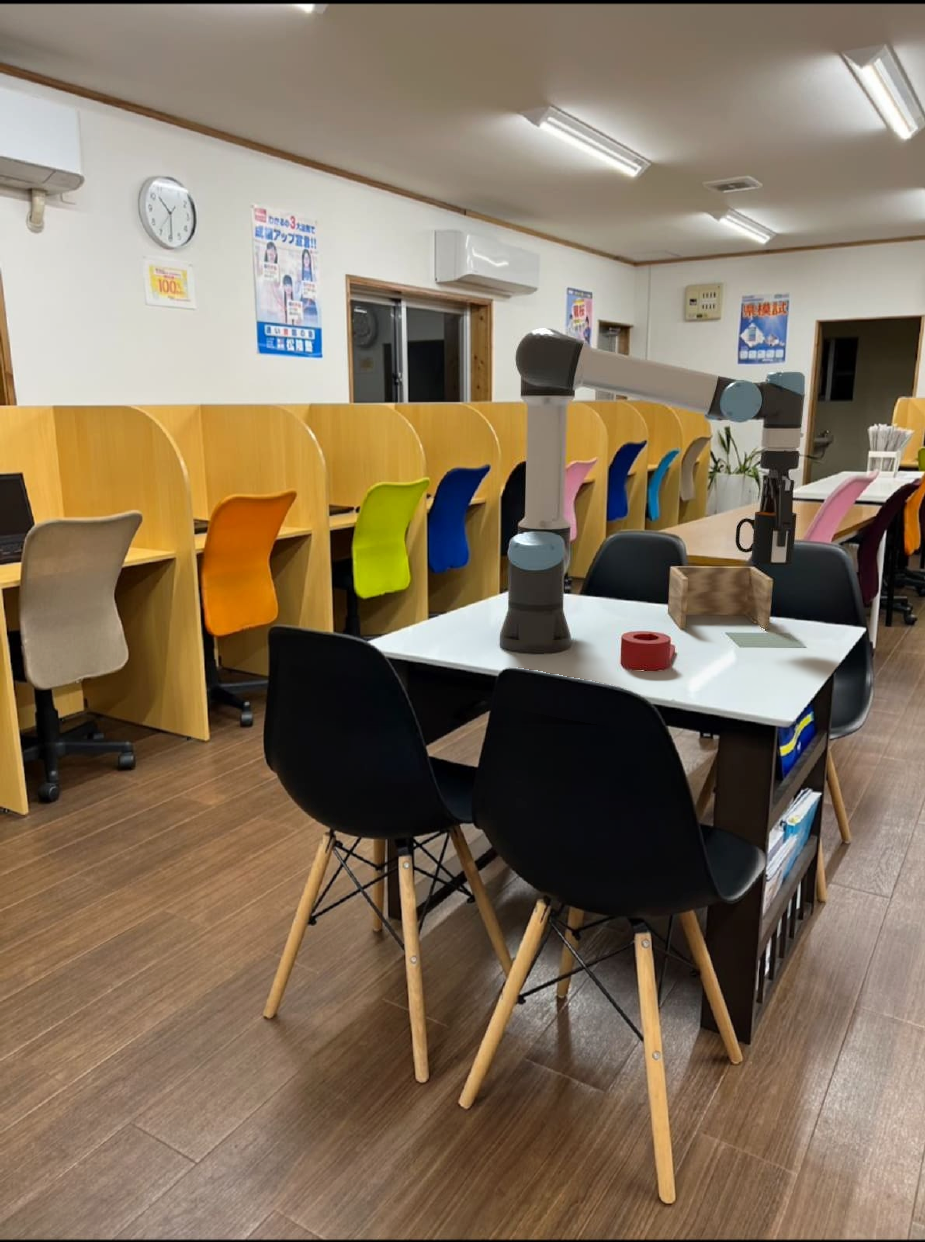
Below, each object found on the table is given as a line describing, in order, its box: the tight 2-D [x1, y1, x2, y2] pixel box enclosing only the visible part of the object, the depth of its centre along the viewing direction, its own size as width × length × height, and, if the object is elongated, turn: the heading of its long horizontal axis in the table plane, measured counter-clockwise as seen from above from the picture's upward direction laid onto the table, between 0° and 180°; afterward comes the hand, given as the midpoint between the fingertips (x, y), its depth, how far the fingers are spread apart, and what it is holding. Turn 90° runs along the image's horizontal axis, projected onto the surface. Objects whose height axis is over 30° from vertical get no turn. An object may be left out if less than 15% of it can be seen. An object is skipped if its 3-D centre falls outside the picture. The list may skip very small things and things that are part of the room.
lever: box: [619, 630, 676, 672], centre depth 177 cm, size 18×9×7 cm, turn 147°
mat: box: [725, 631, 808, 649], centre depth 193 cm, size 14×12×1 cm
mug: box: [735, 510, 798, 566], centre depth 189 cm, size 8×12×10 cm
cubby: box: [667, 565, 774, 631], centre depth 209 cm, size 20×16×12 cm
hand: (771, 558), depth 189 cm, fingers closed on mug, 8 cm apart
